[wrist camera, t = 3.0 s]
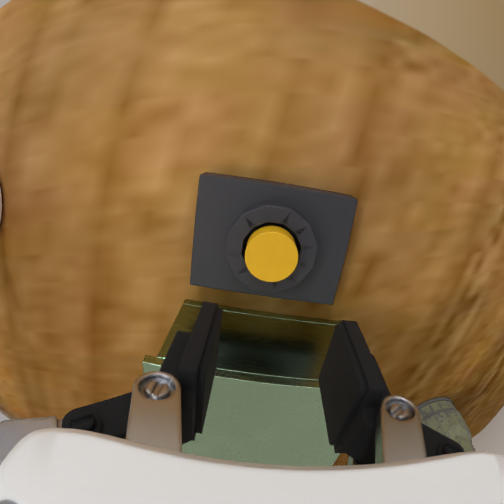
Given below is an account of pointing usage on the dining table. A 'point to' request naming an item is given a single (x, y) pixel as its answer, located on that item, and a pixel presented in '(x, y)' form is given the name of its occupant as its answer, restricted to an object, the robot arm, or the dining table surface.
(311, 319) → the green box
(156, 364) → the lid
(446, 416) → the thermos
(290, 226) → the control box
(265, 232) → the button
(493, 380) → the dining table surface
